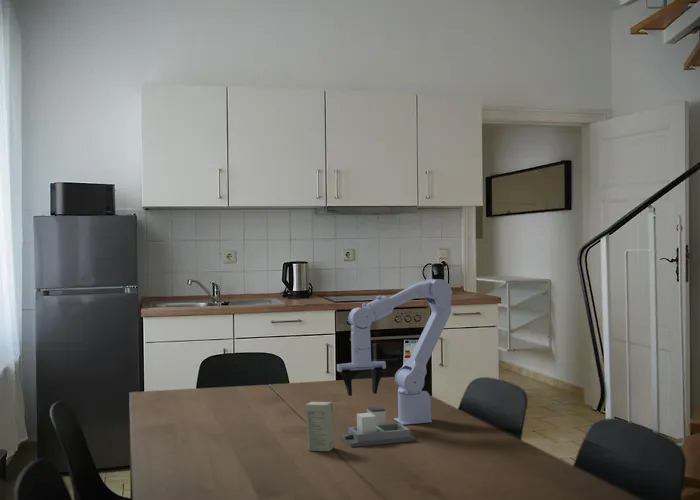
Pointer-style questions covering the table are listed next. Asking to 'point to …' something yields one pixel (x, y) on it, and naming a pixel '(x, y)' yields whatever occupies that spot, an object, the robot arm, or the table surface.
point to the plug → (378, 414)
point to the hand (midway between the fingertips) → (362, 394)
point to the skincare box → (319, 426)
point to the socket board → (375, 432)
